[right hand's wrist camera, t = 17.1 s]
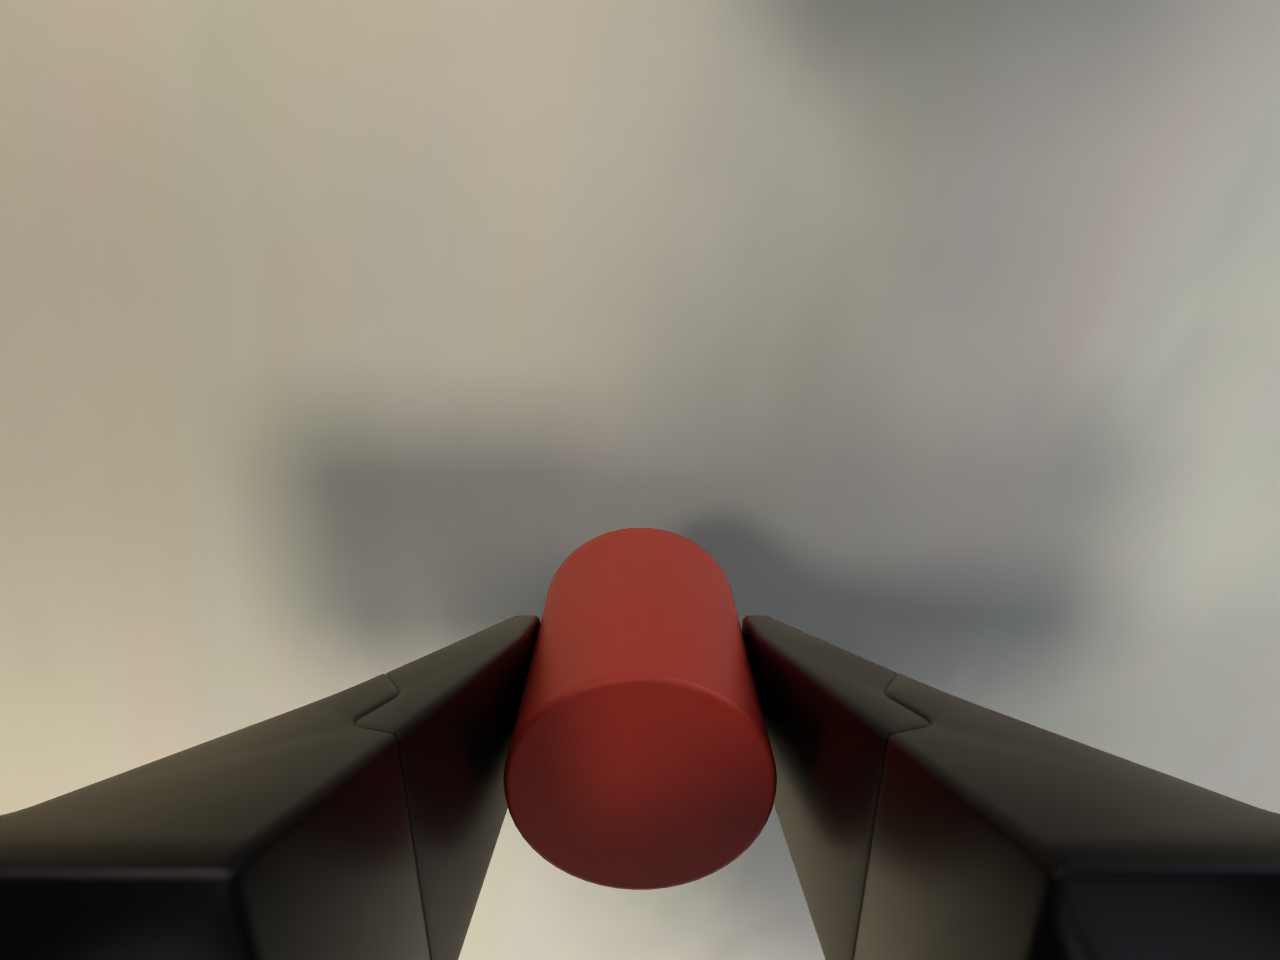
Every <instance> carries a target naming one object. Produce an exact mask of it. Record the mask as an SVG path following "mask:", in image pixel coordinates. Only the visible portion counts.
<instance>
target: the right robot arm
mask: <svg viewBox="0 0 1280 960" xmlns="http://www.w3.org/2000/svg"><path fill="white" fill-rule="evenodd" d="M539 627H540V620H539V618H538V617H537V616H515V617H512V618H510V619H508V620H505V621H503V622H501V623H499V624H496V625H494V626H492V627H490V628H487V629H485V630H483V631H481V632H478V633H476V634H474V635H472V636H469V637H467V638H465V639H463V640H460V641H458V642H456V643H454V644H451V645H449V646H447V647H445V648H442V649H440V650H438V651H436V652H433V653H431V654H429V655H426V656H424V657H422V658H420V659H417V660H415V661H413V662H411V663H408V664H406V665H404V666H402V667H399V668H397V669H395V670H393V671H390V672H388V673H387V674H386V675H385V674H382V675H379V676H377V677H375V678H372V679H370V680H368V681H366V682H363V683H361V684H358V685H356V686H354V687H351V688H349V689H347V690H344V691H342V692H339V693H337V694H334V695H332V696H329V697H326V698H324V699H321V700H319V701H316V702H313V703H311V704H308V705H305V706H303V707H300V708H297V709H295V710H292V711H289V712H287V713H284V714H281V715H278V716H276V717H273V718H270V719H268V720H265V721H262V722H259V723H257V724H254V725H251V726H249V727H246V728H243V729H240V730H238V731H235V732H232V733H230V734H227V735H224V736H222V737H219V738H216V739H213V740H211V741H208V742H205V743H203V744H200V745H197V746H194V747H192V748H189V749H186V750H184V751H181V752H178V753H176V754H173V755H170V756H167V757H165V758H162V759H159V760H157V761H154V762H151V763H148V764H146V765H143V766H140V767H138V768H135V769H132V770H129V771H127V772H124V773H121V774H119V775H116V776H113V777H111V778H108V779H105V780H102V781H100V782H97V783H94V784H92V785H89V786H86V787H83V788H81V789H78V790H75V791H73V792H70V793H67V794H64V795H62V796H59V797H56V798H54V799H51V800H48V801H46V802H43V803H40V804H37V805H35V806H32V807H29V808H26V809H22V810H19V811H16V812H13V813H9V814H5V815H1V816H0V960H458V958H459V955H460V952H461V949H462V946H463V943H464V940H465V937H466V934H467V930H468V927H469V924H470V921H471V918H472V915H473V912H474V909H475V906H476V903H477V900H478V897H479V894H480V891H481V888H482V885H483V882H484V879H485V875H486V872H487V869H488V866H489V863H490V860H491V857H492V854H493V851H494V848H495V845H496V842H497V839H498V836H499V833H500V830H501V827H502V824H503V820H504V817H505V814H506V811H507V808H508V805H507V801H506V798H505V792H504V783H503V779H504V766H505V762H506V758H507V753H508V750H509V746H510V742H511V738H512V734H513V730H514V726H515V722H516V718H517V714H518V710H519V706H520V702H521V698H522V694H523V690H524V686H525V682H526V678H527V675H528V671H529V667H530V663H531V659H532V655H533V651H534V647H535V643H536V639H537V635H538V631H539ZM742 635H743V639H744V643H745V647H746V650H747V654H748V658H749V662H750V666H751V670H752V674H753V678H754V682H755V685H756V689H757V693H758V697H759V701H760V705H761V709H762V713H763V717H764V720H765V724H766V728H767V732H768V736H769V740H770V744H771V748H772V752H773V756H774V759H775V763H776V772H777V787H776V795H775V799H774V805H775V808H776V811H777V814H778V817H779V820H780V823H781V826H782V829H783V832H784V835H785V838H786V841H787V844H788V847H789V850H790V853H791V856H792V859H793V862H794V865H795V868H796V871H797V874H798V877H799V881H800V884H801V887H802V890H803V893H804V896H805V899H806V902H807V905H808V908H809V911H810V914H811V917H812V920H813V923H814V926H815V929H816V932H817V935H818V938H819V941H820V944H821V947H822V950H823V953H824V956H825V959H826V960H1280V814H1277V813H1273V812H1270V811H1267V810H1264V809H1261V808H1257V807H1254V806H1251V805H1249V804H1246V803H1243V802H1240V801H1238V800H1235V799H1232V798H1230V797H1227V796H1224V795H1221V794H1219V793H1216V792H1213V791H1210V790H1208V789H1205V788H1202V787H1200V786H1197V785H1194V784H1191V783H1189V782H1186V781H1183V780H1180V779H1178V778H1175V777H1172V776H1170V775H1167V774H1164V773H1161V772H1159V771H1156V770H1153V769H1150V768H1148V767H1145V766H1142V765H1140V764H1137V763H1134V762H1131V761H1129V760H1126V759H1123V758H1121V757H1118V756H1115V755H1112V754H1110V753H1107V752H1104V751H1101V750H1099V749H1096V748H1093V747H1091V746H1088V745H1085V744H1082V743H1080V742H1077V741H1074V740H1071V739H1069V738H1066V737H1063V736H1061V735H1058V734H1055V733H1052V732H1050V731H1047V730H1044V729H1041V728H1039V727H1036V726H1033V725H1031V724H1028V723H1025V722H1022V721H1020V720H1017V719H1014V718H1011V717H1009V716H1006V715H1003V714H1001V713H998V712H995V711H992V710H990V709H987V708H984V707H981V706H979V705H976V704H973V703H971V702H968V701H966V700H963V699H960V698H958V697H955V696H953V695H950V694H947V693H945V692H942V691H940V690H937V689H935V688H933V687H930V686H928V685H925V684H923V683H921V682H918V681H916V680H914V679H911V678H909V677H907V676H904V675H902V674H897V673H895V672H893V671H891V670H889V669H886V668H884V667H882V666H880V665H877V664H875V663H873V662H870V661H868V660H866V659H864V658H861V657H859V656H857V655H855V654H852V653H850V652H848V651H845V650H843V649H841V648H839V647H836V646H834V645H832V644H829V643H827V642H825V641H823V640H820V639H818V638H816V637H814V636H811V635H809V634H807V633H804V632H802V631H800V630H798V629H795V628H793V627H791V626H789V625H786V624H784V623H782V622H779V621H777V620H775V619H773V618H770V617H768V616H746V617H744V619H743V623H742Z"/></svg>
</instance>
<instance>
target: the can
mask: <svg viewBox="0 0 1280 960" xmlns="http://www.w3.org/2000/svg"><path fill="white" fill-rule="evenodd" d="M503 783H504V792H505V798H506V801H507V805H508V809H509V812H510V814H511V817H512V819H513V821H514V823H515V825H516V827H517V829H518V830H519V832H520V833H521V835H522V836H523V838H524V839H525V840H526V841H527V842H528V844H529V845H530V846H531V847H532V848H533V849H534V850H535V851H536V852H537V853H538V854H539V855H541V856H542V857H543V858H544V859H545V860H547V861H548V862H550V863H551V864H553V865H554V866H556V867H557V868H559V869H561V870H563V871H565V872H566V873H568V874H570V875H572V876H575V877H577V878H580V879H582V880H585V881H588V882H591V883H595V884H598V885H602V886H608V887H613V888H620V889H632V890H647V889H659V888H668V887H672V886H677V885H682V884H686V883H689V882H692V881H695V880H698V879H701V878H703V877H705V876H708V875H710V874H712V873H714V872H716V871H718V870H719V869H721V868H723V867H725V866H726V865H728V864H729V863H731V862H732V861H733V860H735V859H736V858H737V857H739V856H740V855H741V854H742V853H743V852H744V851H745V850H746V849H747V848H748V847H749V846H750V845H751V844H752V843H753V842H754V840H755V839H756V838H757V837H758V836H759V834H760V832H761V831H762V829H763V827H764V826H765V824H766V822H767V820H768V818H769V815H770V813H771V810H772V807H773V803H774V799H775V795H776V787H777V772H776V763H775V759H774V756H773V752H772V748H771V744H770V740H769V736H768V732H767V728H766V724H765V720H764V717H763V713H762V709H761V705H760V701H759V697H758V693H757V689H756V685H755V682H754V678H753V674H752V670H751V666H750V662H749V658H748V654H747V650H746V647H745V643H744V639H743V635H742V631H741V627H740V623H739V619H738V615H737V611H736V608H735V604H734V600H733V596H732V592H731V588H730V585H729V583H728V581H727V578H726V576H725V574H724V573H723V571H722V569H721V568H720V566H719V565H718V564H717V563H716V561H715V560H714V559H713V558H712V557H711V556H710V555H709V554H708V553H707V552H706V551H705V550H703V549H702V548H701V547H699V546H698V545H696V544H695V543H693V542H692V541H690V540H688V539H686V538H684V537H682V536H679V535H676V534H674V533H671V532H667V531H663V530H658V529H650V528H629V529H622V530H617V531H613V532H609V533H606V534H604V535H601V536H599V537H596V538H594V539H592V540H590V541H589V542H587V543H585V544H584V545H582V546H581V547H579V548H578V549H577V550H575V551H574V552H573V553H572V554H571V555H570V556H569V557H568V558H567V559H566V560H565V561H564V563H563V564H562V565H561V566H560V568H559V569H558V571H557V573H556V574H555V576H554V578H553V580H552V583H551V585H550V588H549V592H548V596H547V600H546V603H545V607H544V611H543V615H542V619H541V623H540V627H539V631H538V635H537V639H536V643H535V647H534V651H533V655H532V659H531V663H530V667H529V671H528V675H527V678H526V682H525V686H524V690H523V694H522V698H521V702H520V706H519V710H518V714H517V718H516V722H515V726H514V730H513V734H512V738H511V742H510V746H509V750H508V753H507V758H506V762H505V766H504V779H503Z"/></svg>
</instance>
